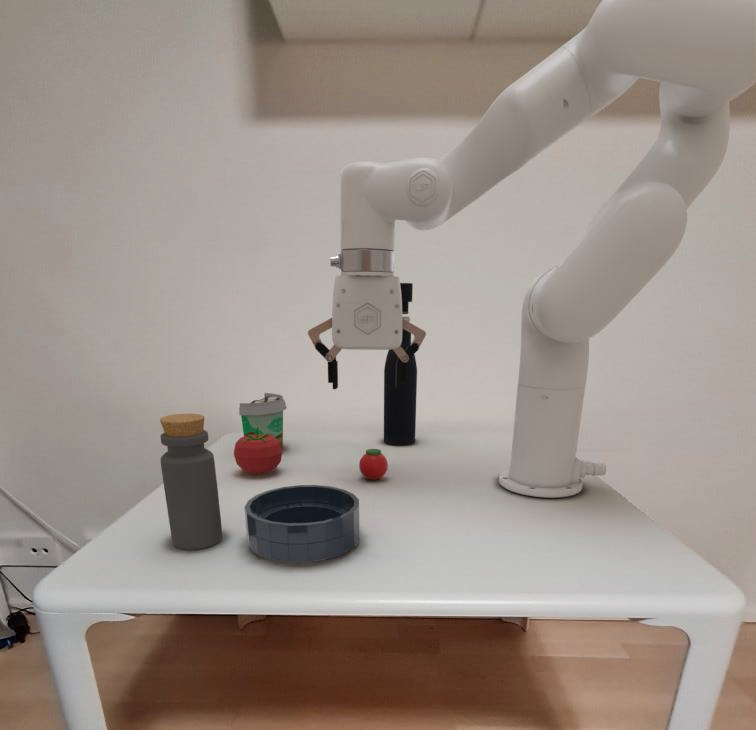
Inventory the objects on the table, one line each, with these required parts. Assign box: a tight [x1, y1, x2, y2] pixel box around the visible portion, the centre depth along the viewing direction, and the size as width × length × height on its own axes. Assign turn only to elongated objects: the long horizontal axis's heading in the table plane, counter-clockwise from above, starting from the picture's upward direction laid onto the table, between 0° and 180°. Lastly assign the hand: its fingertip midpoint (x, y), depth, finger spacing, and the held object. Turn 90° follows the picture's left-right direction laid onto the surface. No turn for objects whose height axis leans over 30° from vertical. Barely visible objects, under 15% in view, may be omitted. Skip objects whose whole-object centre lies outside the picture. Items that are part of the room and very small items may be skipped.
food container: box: [238, 392, 287, 451], centre depth 102 cm, size 12×6×10 cm, turn 168°
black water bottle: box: [383, 282, 418, 447], centre depth 105 cm, size 6×6×30 cm
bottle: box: [159, 413, 223, 551], centre depth 63 cm, size 6×6×15 cm
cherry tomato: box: [358, 448, 389, 481], centre depth 87 cm, size 5×5×5 cm
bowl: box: [244, 484, 361, 563], centre depth 65 cm, size 13×13×5 cm
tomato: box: [233, 427, 283, 475], centre depth 90 cm, size 8×8×8 cm
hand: (366, 388), depth 83 cm, fingers open, 9 cm apart
